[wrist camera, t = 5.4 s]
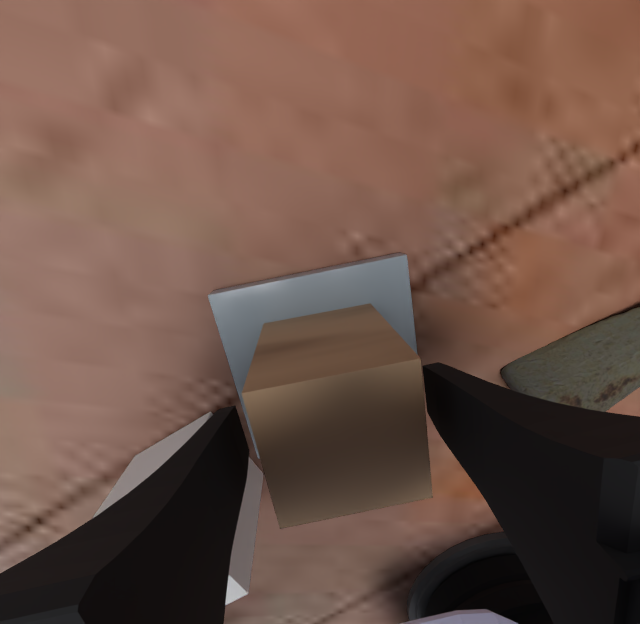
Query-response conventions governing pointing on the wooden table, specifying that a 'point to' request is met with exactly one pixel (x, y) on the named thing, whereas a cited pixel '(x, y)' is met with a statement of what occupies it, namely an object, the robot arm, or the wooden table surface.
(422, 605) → the sander
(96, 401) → the wooden table surface
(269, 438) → the walnut block
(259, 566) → the wooden table surface
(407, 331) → the coaster
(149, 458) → the grey block
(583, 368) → the bone
